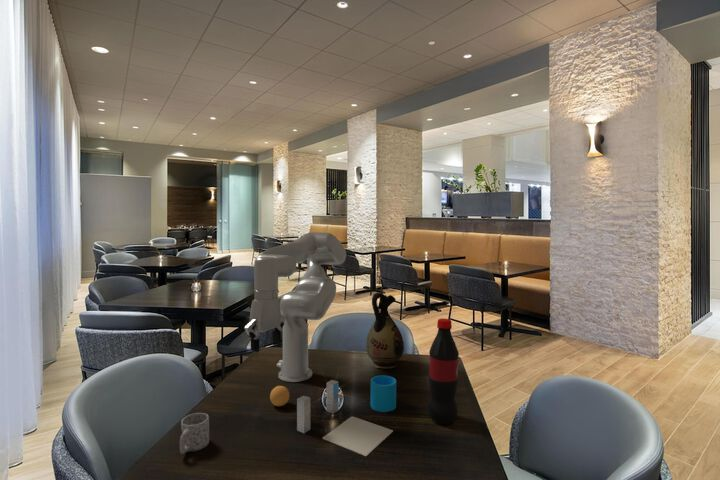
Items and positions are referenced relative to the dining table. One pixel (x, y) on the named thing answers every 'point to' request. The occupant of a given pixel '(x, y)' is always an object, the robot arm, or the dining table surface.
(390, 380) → the mug
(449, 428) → the dining table surface
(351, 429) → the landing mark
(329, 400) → the post
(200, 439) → the mug
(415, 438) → the dining table surface
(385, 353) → the ceramic jug
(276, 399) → the ball
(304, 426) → the post
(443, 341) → the cola bottle
